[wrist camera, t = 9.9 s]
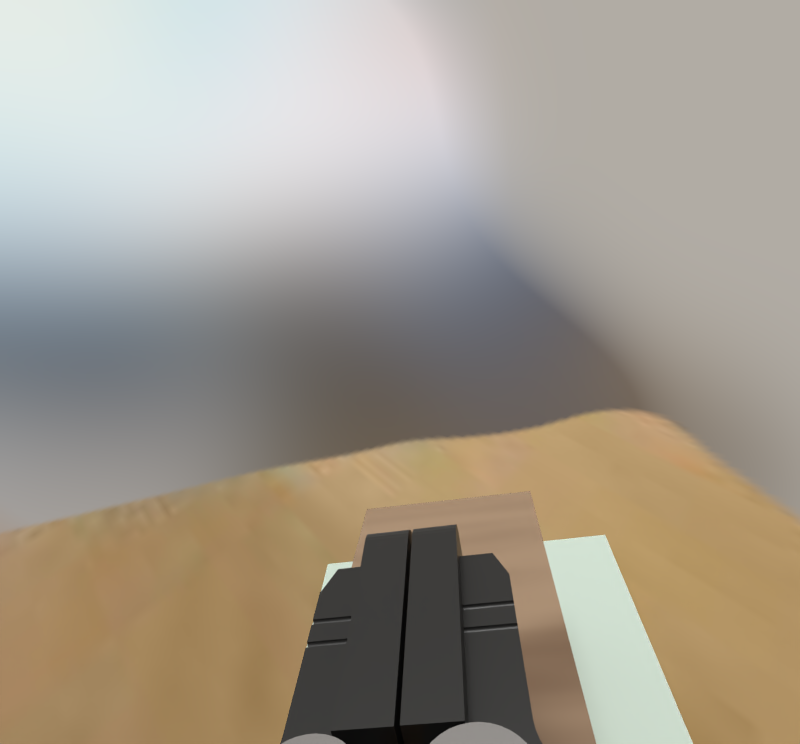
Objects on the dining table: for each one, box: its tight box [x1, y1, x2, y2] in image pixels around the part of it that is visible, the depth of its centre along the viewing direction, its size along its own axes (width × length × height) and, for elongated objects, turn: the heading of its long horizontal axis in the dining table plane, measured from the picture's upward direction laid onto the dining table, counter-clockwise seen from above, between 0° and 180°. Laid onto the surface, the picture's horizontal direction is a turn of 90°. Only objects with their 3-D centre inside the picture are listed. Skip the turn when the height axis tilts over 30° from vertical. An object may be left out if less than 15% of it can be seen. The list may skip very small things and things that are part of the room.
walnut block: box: [351, 491, 596, 744], centre depth 13 cm, size 5×5×12 cm
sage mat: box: [307, 535, 693, 744], centre depth 17 cm, size 14×11×1 cm
